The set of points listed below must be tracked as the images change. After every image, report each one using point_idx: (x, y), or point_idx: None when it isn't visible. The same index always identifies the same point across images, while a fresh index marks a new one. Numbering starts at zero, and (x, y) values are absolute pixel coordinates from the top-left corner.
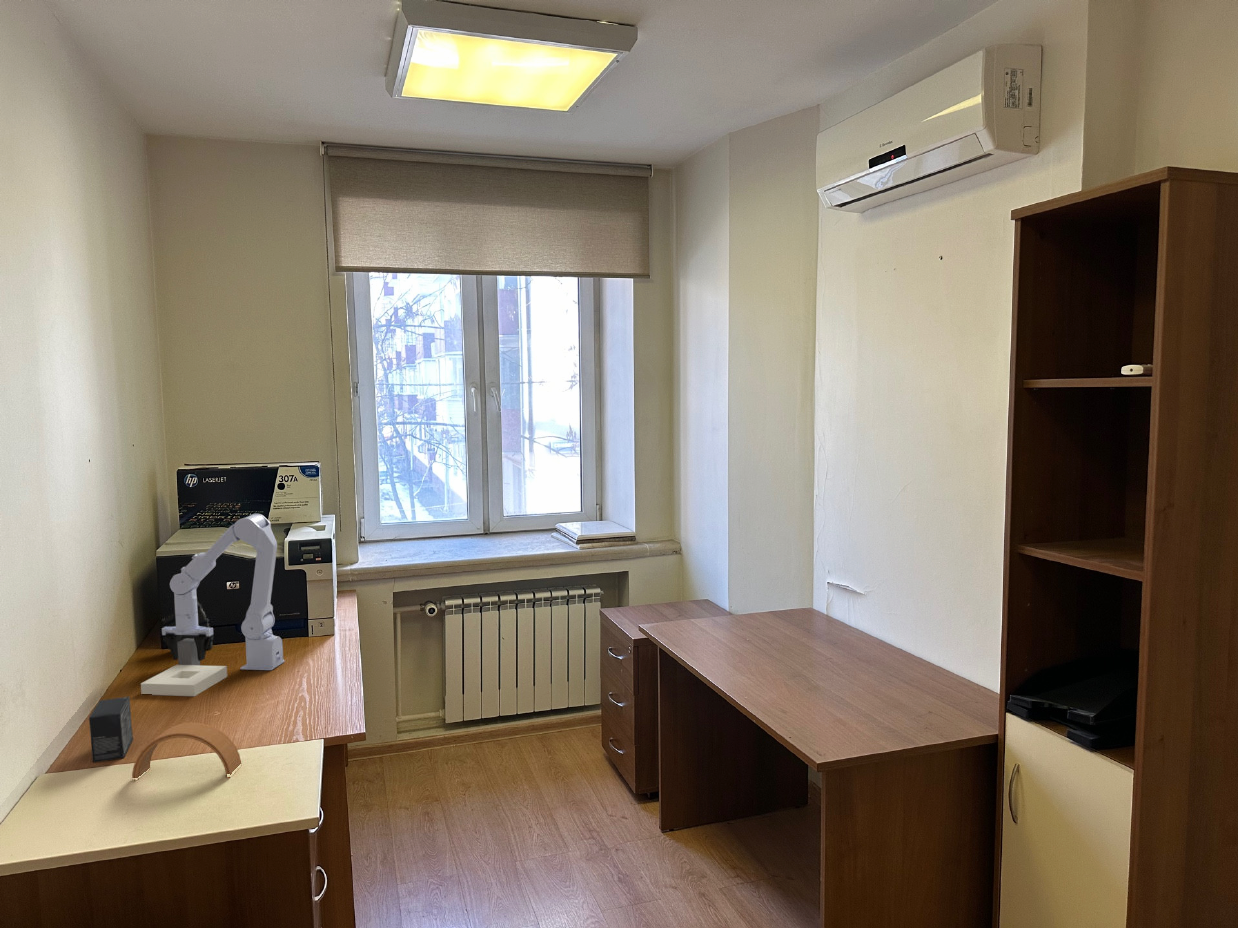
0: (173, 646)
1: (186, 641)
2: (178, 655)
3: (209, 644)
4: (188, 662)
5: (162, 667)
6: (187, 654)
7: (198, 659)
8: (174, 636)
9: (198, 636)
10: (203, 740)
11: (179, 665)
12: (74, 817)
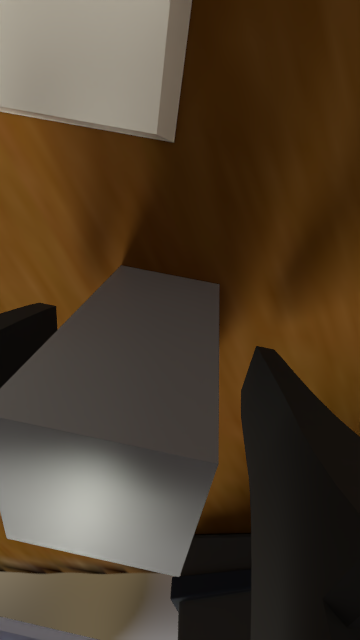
0: (290, 437)
1: (92, 478)
2: (213, 336)
3: (186, 560)
4: (129, 290)
5: (354, 339)
6: (111, 324)
7: (46, 306)
8: (315, 631)
9: (234, 624)
10: None
11: (105, 95)
12: None
